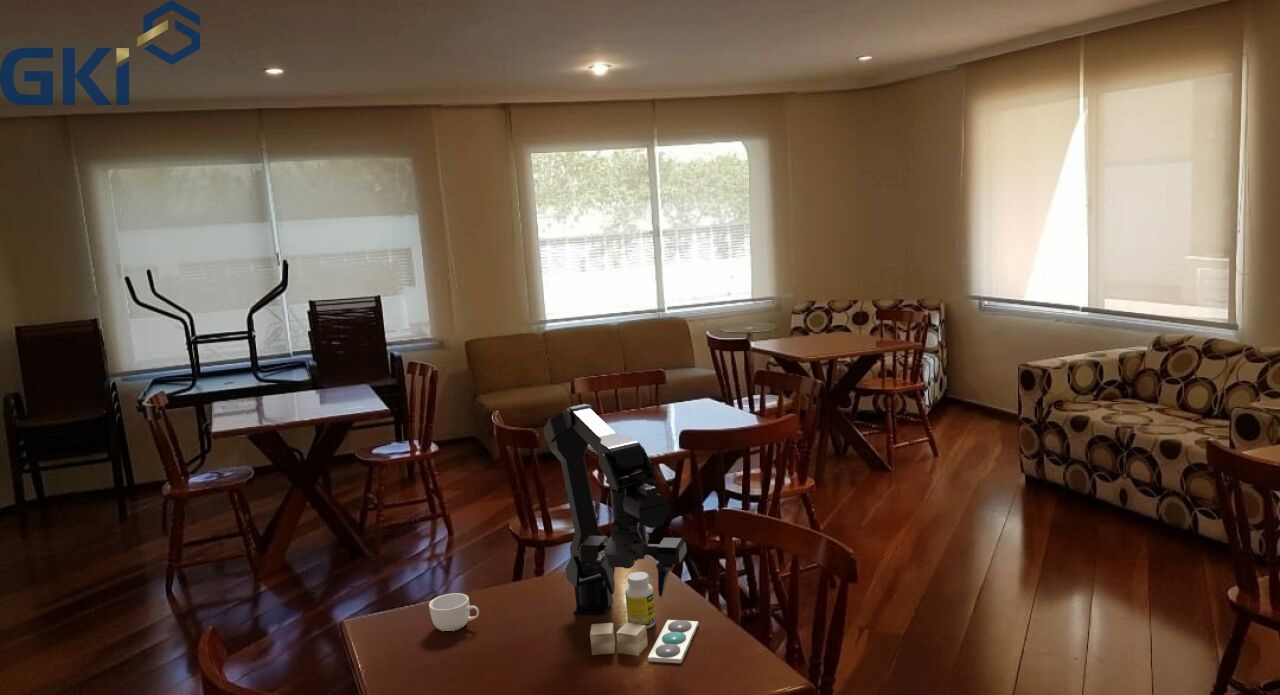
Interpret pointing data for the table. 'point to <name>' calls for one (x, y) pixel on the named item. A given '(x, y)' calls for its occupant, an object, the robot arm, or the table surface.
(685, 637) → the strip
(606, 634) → the beech block
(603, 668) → the table surface
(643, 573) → the supplement bottle
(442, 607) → the teacup
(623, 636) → the beech block
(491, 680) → the table surface
